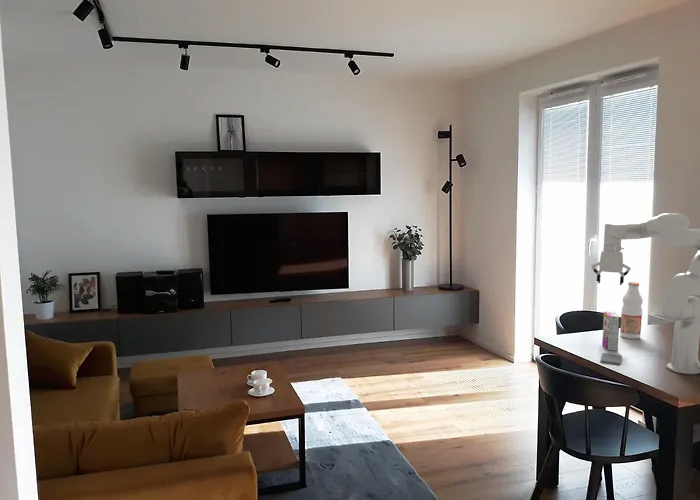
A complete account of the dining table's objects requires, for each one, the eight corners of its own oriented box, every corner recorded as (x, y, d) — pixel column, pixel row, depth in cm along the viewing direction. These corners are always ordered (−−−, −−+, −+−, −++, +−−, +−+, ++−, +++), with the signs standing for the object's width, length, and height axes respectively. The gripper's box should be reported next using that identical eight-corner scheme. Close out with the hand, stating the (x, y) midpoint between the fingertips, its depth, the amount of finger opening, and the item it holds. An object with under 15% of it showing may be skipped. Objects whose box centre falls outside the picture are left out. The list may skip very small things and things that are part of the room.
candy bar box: (601, 344, 285) (603, 311, 283) (612, 344, 284) (614, 311, 282) (606, 350, 274) (608, 316, 272) (617, 351, 273) (620, 317, 271)
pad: (621, 357, 263) (622, 355, 263) (620, 365, 252) (620, 363, 252) (602, 354, 267) (602, 352, 267) (600, 362, 256) (600, 360, 255)
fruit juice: (615, 334, 303) (619, 281, 299) (631, 333, 305) (635, 281, 301) (628, 339, 293) (632, 284, 290) (644, 338, 296) (648, 284, 292)
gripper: (632, 248, 278) (630, 284, 280) (593, 246, 286) (591, 281, 288) (631, 250, 271) (629, 286, 273) (591, 248, 279) (589, 283, 281)
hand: (609, 283), depth 280 cm, fingers open, 9 cm apart
